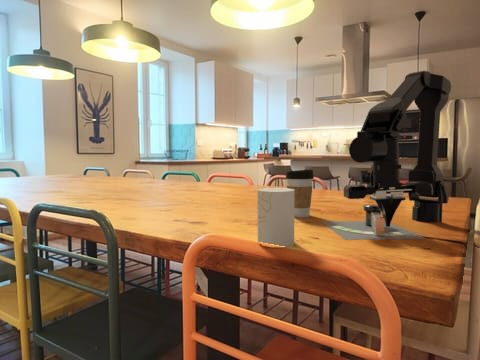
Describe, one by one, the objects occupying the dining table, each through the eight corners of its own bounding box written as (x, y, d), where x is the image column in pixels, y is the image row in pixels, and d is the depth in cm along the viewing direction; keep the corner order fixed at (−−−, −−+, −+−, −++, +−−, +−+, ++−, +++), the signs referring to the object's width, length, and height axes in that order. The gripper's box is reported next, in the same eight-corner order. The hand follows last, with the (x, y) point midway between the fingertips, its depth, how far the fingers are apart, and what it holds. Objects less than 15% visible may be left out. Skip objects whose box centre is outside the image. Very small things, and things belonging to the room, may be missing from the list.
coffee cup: (313, 221, 100) (314, 170, 99) (284, 220, 102) (284, 170, 101) (313, 216, 108) (313, 168, 107) (286, 215, 110) (286, 168, 109)
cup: (255, 239, 80) (255, 188, 80) (289, 238, 81) (289, 187, 80) (260, 248, 72) (260, 192, 71) (298, 247, 73) (298, 191, 72)
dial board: (385, 224, 96) (385, 219, 96) (426, 242, 76) (426, 237, 76) (321, 225, 95) (321, 220, 95) (345, 244, 75) (345, 238, 75)
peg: (362, 223, 92) (362, 204, 92) (381, 223, 91) (381, 204, 91) (368, 236, 78) (369, 213, 78) (391, 237, 77) (392, 214, 77)
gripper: (411, 157, 87) (413, 218, 89) (337, 162, 89) (339, 221, 90) (433, 158, 76) (435, 227, 77) (348, 163, 78) (350, 231, 79)
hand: (387, 226), depth 81 cm, fingers closed
